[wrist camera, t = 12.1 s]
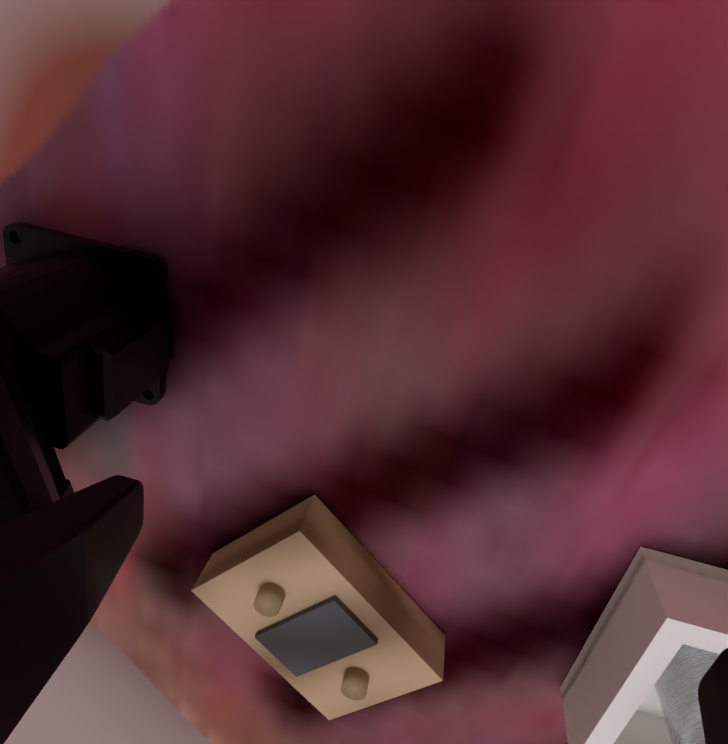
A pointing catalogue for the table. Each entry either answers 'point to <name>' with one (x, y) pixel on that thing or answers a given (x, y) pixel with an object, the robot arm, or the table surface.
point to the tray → (642, 648)
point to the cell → (684, 694)
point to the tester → (322, 611)
